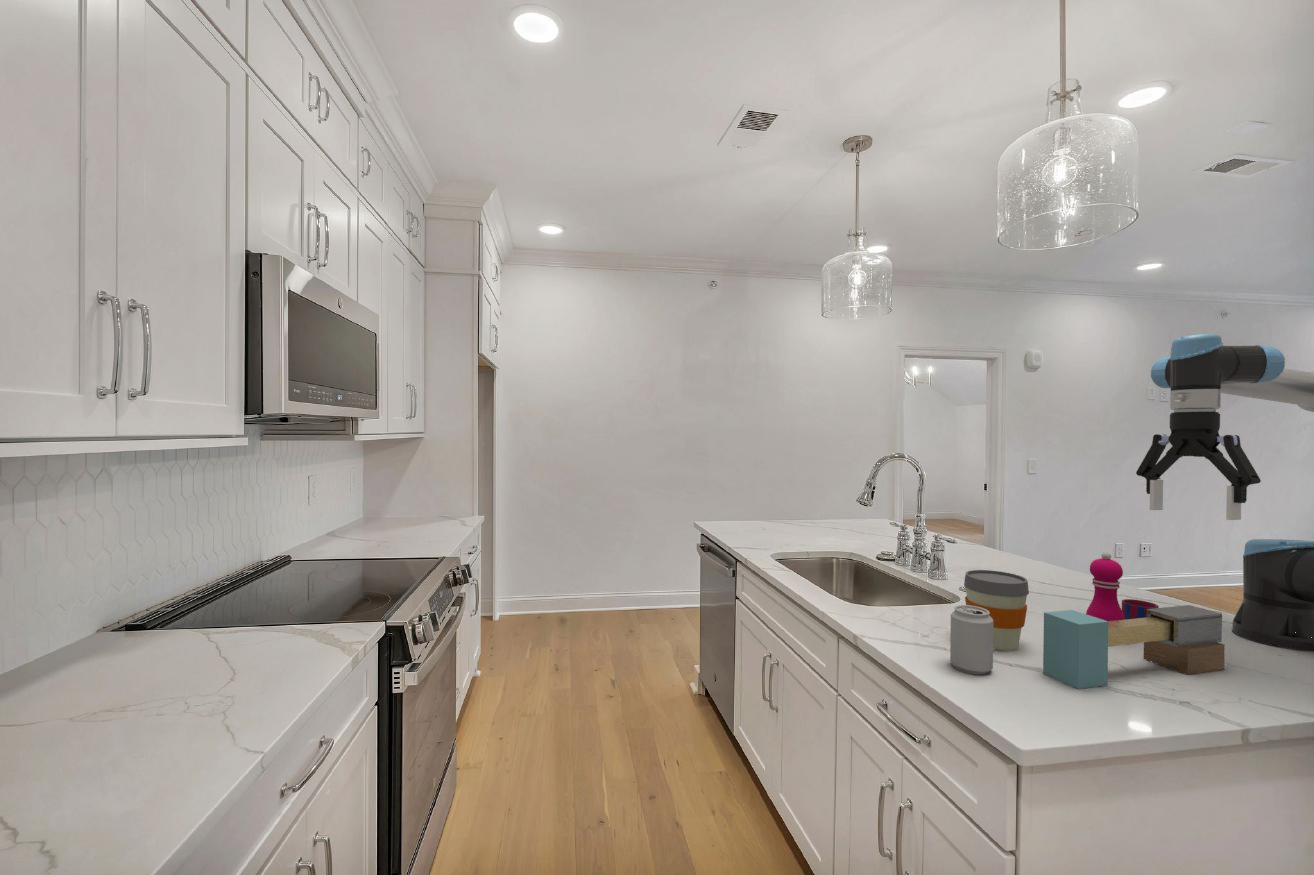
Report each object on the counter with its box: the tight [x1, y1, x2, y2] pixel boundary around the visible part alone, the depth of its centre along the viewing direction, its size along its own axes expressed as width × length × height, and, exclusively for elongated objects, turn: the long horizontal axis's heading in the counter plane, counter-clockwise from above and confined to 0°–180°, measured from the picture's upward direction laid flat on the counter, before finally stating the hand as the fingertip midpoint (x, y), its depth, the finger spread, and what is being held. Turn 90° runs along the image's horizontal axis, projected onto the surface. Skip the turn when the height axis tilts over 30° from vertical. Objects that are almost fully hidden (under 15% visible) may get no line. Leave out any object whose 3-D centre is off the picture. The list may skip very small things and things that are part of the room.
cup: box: [1121, 598, 1160, 620], centre depth 134 cm, size 7×10×7 cm
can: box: [949, 604, 994, 675], centre depth 114 cm, size 8×8×12 cm
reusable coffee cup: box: [963, 569, 1030, 651], centre depth 128 cm, size 13×12×15 cm
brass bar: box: [1108, 616, 1174, 648], centre depth 113 cm, size 28×3×3 cm, turn 105°
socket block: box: [1042, 609, 1109, 690], centre depth 109 cm, size 7×7×12 cm
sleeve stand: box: [1143, 604, 1225, 676], centre depth 116 cm, size 12×8×11 cm, turn 105°
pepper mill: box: [1085, 551, 1125, 621], centre depth 131 cm, size 7×7×20 cm
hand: (1192, 514), depth 117 cm, fingers open, 13 cm apart
